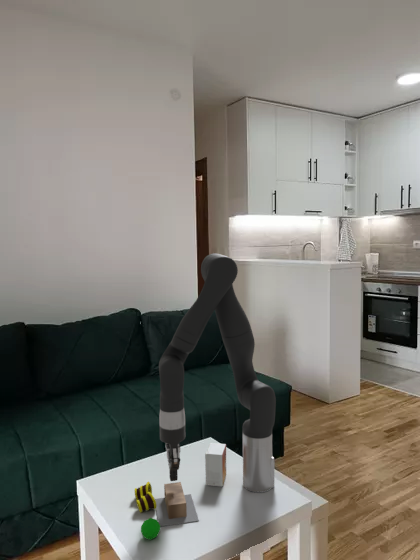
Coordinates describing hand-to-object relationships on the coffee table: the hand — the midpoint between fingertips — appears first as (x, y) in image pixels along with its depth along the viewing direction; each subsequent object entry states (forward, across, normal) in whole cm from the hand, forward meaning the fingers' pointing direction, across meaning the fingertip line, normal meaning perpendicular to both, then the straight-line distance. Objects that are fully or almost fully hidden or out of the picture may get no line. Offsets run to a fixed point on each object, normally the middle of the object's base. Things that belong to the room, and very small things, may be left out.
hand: (173, 479), depth 130 cm
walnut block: (+5, +3, 0) cm, 6 cm away
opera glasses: (+7, +1, +8) cm, 11 cm away
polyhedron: (+7, -14, +8) cm, 18 cm away
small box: (+7, +9, -15) cm, 19 cm away
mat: (+7, -4, 0) cm, 8 cm away
